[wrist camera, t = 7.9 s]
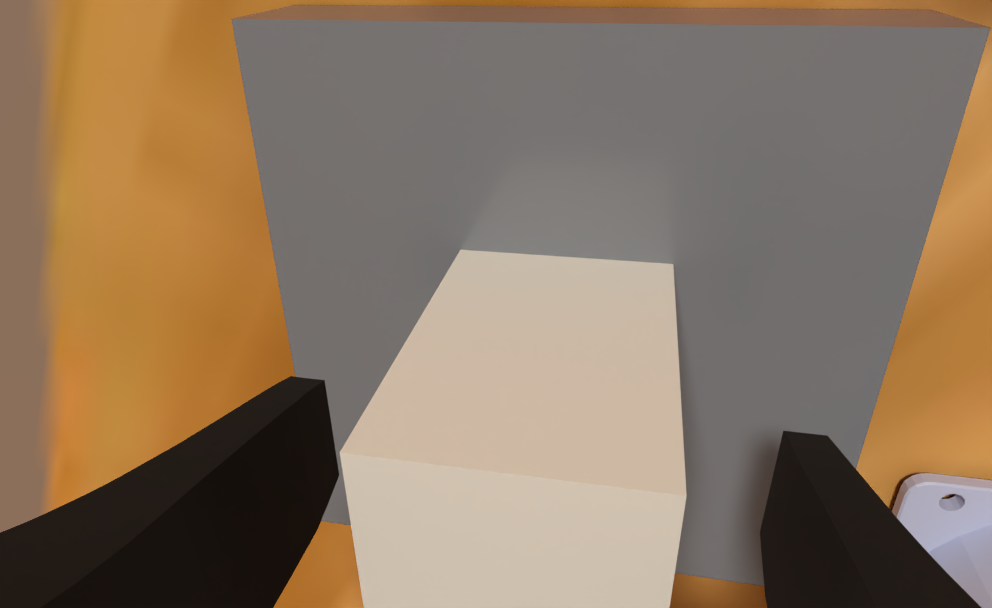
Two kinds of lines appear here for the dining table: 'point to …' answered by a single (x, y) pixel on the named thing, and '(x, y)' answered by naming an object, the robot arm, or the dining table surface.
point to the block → (525, 442)
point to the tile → (618, 198)
